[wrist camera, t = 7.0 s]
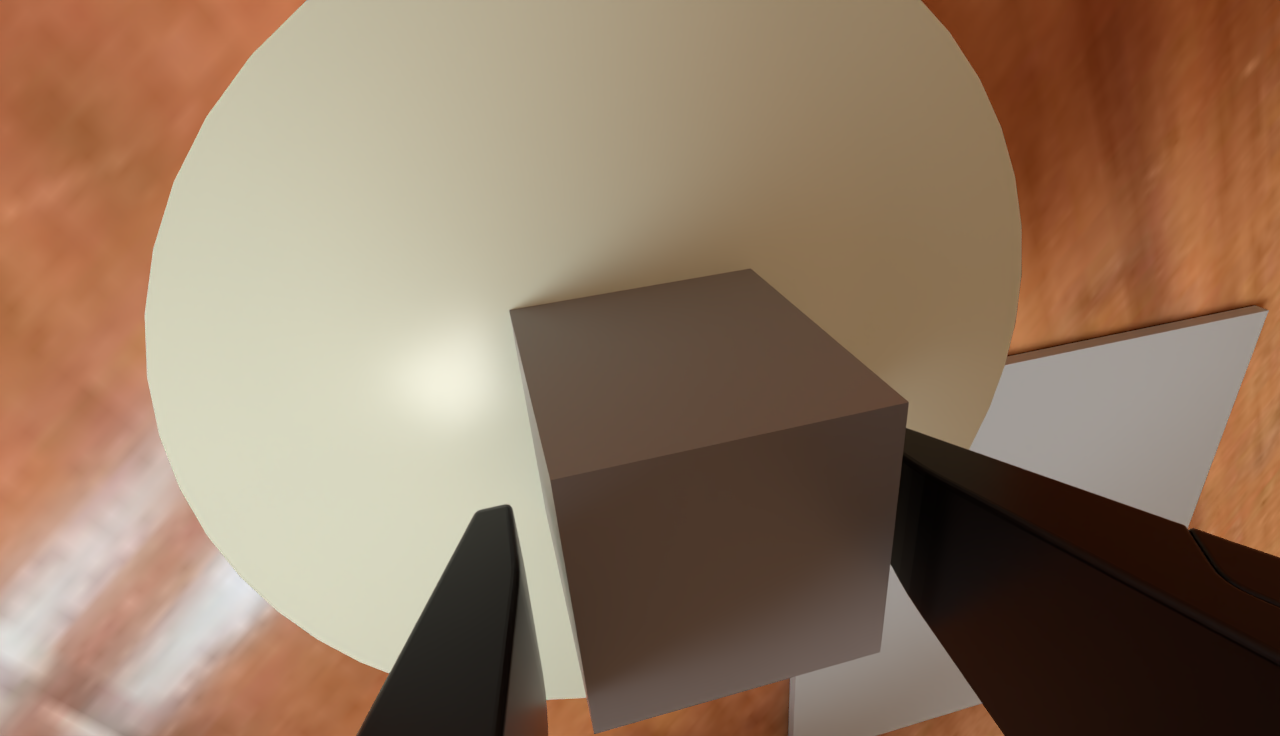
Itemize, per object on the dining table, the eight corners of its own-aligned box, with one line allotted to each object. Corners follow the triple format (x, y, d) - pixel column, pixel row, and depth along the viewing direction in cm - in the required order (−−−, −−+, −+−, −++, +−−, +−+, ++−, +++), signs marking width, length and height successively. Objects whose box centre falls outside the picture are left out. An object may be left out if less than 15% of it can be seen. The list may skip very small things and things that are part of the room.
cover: (940, 574, 16) (1120, 777, 12) (326, 739, 13) (278, 1067, 9) (1055, -140, 10) (1521, -246, 6) (-42, -66, 7) (-669, -154, 3)
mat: (1132, 646, 29) (1140, 654, 29) (787, 751, 26) (792, 761, 26) (1255, 305, 22) (1268, 310, 21) (800, 399, 19) (806, 406, 19)
